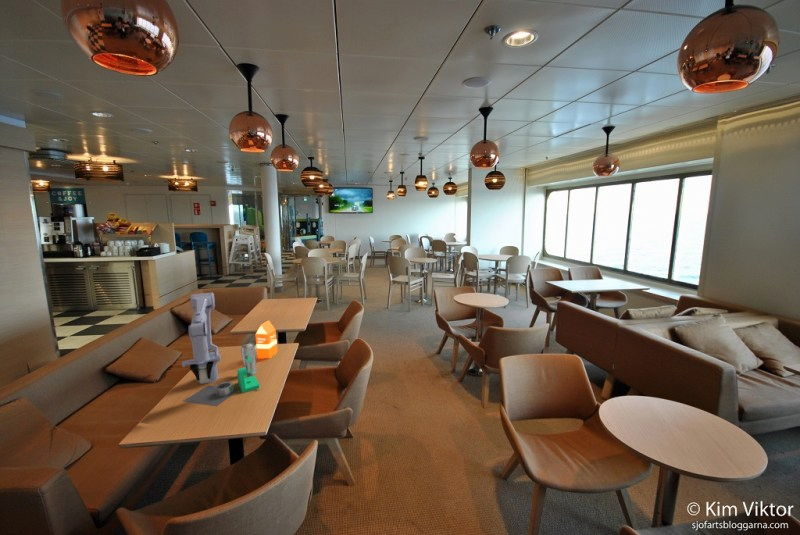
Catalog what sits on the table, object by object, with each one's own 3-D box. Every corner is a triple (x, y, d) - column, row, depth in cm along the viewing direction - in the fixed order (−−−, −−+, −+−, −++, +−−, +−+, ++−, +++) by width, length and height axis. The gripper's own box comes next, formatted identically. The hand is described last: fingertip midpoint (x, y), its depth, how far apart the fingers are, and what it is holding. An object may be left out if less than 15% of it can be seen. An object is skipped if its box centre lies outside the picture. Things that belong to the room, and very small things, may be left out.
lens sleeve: (211, 395, 148) (211, 388, 148) (224, 387, 155) (223, 380, 155) (225, 397, 146) (224, 390, 146) (237, 389, 153) (236, 382, 153)
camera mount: (260, 390, 155) (258, 369, 153) (242, 395, 150) (240, 374, 149) (255, 380, 164) (253, 360, 163) (238, 384, 160) (236, 364, 159)
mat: (182, 403, 145) (182, 401, 145) (208, 387, 158) (208, 385, 158) (216, 408, 140) (216, 406, 140) (240, 391, 153) (240, 389, 153)
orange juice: (257, 358, 190) (254, 324, 187) (265, 352, 199) (263, 320, 196) (269, 358, 189) (266, 325, 186) (277, 352, 198) (275, 320, 195)
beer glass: (243, 377, 167) (241, 349, 165) (243, 372, 173) (240, 344, 171) (258, 374, 170) (256, 346, 168) (257, 369, 176) (255, 342, 174)
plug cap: (197, 382, 146) (196, 370, 145) (204, 379, 149) (202, 366, 148) (204, 383, 145) (202, 371, 144) (210, 379, 148) (209, 367, 147)
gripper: (178, 356, 138) (182, 386, 140) (217, 350, 144) (221, 379, 146) (182, 349, 145) (186, 378, 147) (220, 344, 150) (223, 372, 152)
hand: (204, 378), depth 147 cm, fingers closed on plug cap, 4 cm apart
